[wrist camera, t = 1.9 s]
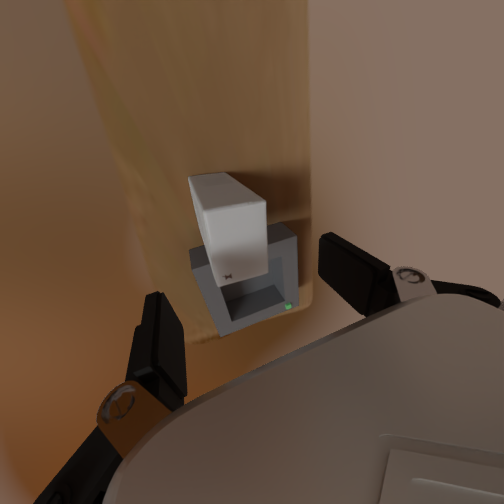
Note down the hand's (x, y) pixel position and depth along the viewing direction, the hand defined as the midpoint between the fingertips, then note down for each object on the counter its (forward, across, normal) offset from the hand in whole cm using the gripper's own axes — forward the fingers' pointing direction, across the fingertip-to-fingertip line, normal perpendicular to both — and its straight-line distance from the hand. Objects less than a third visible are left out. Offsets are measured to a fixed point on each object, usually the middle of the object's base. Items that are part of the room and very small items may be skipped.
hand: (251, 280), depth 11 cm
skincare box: (+15, 0, -1) cm, 15 cm away
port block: (+15, -2, +11) cm, 19 cm away
